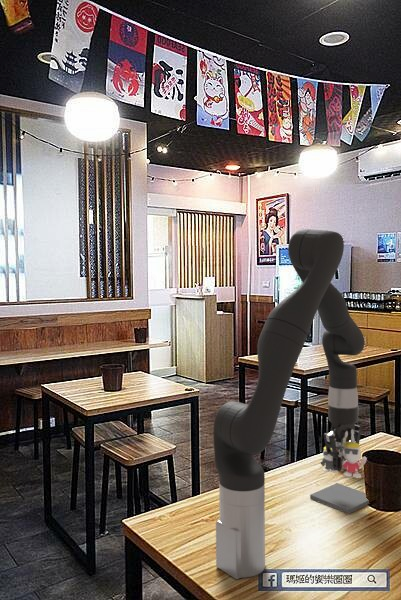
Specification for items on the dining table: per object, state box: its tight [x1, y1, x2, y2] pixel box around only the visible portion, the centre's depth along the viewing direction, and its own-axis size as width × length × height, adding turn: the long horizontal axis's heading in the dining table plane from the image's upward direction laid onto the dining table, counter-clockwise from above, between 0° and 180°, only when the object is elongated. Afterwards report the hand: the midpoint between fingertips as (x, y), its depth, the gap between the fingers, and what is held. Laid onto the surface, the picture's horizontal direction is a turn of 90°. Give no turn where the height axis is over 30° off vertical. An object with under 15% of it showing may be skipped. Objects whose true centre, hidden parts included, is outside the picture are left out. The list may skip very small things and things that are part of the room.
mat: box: [309, 482, 370, 515], centre depth 135 cm, size 12×12×1 cm
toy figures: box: [320, 442, 368, 479], centre depth 134 cm, size 12×4×8 cm, turn 55°
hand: (343, 467), depth 134 cm, fingers closed on toy figures, 4 cm apart
